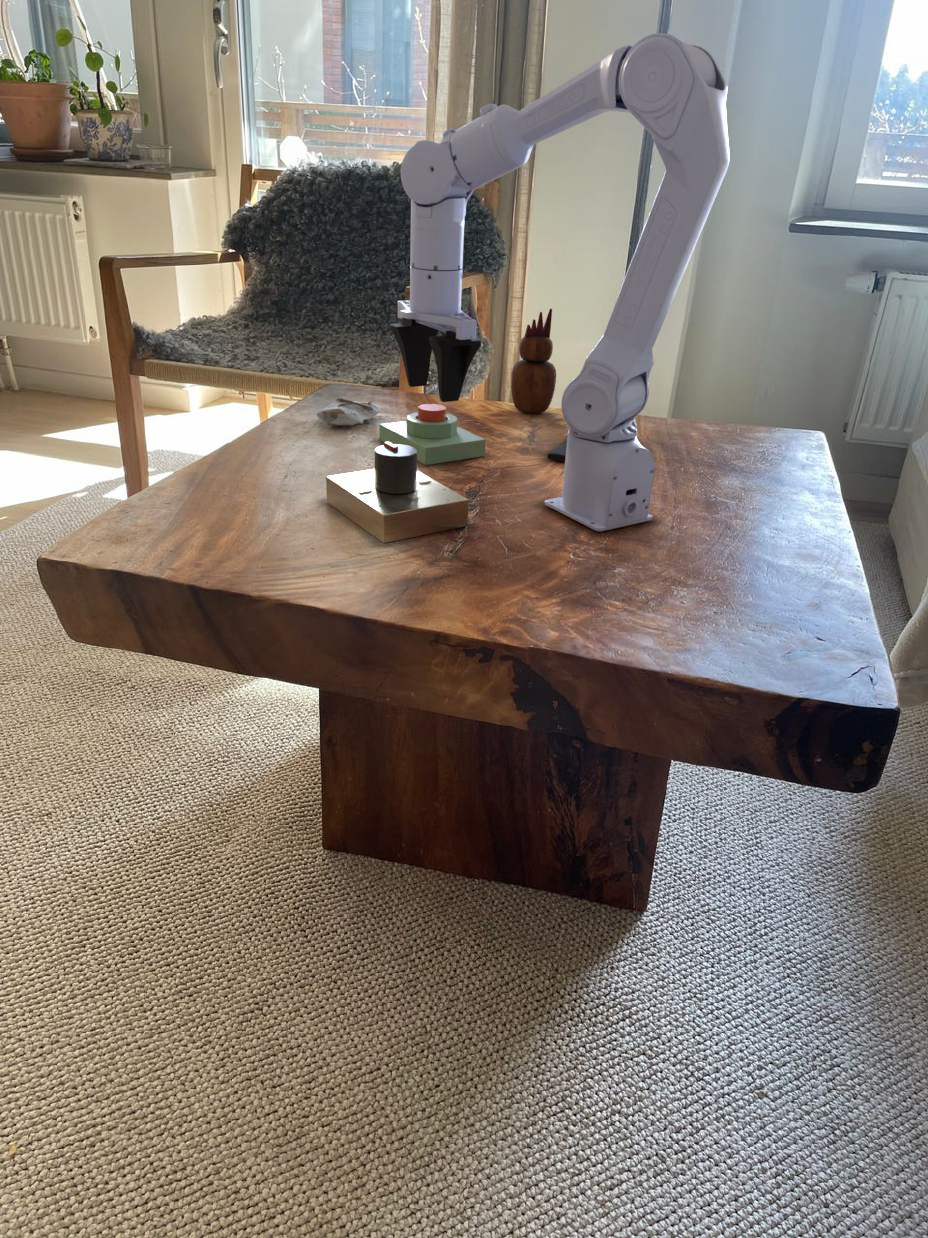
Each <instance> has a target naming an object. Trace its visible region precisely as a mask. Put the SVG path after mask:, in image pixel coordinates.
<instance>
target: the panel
mask: <svg viewBox="0 0 928 1238" xmlns="http://www.w3.org/2000/svg"><path fill="white" fill-rule="evenodd" d="M325 490H326V503H327V504H329V506H331V507H333V508H334V509H336V511H338V512H340V513H341V514H343V515H344V516H345V517H346V518H348V519H349V520H350V521H352V522H354V523H355V524H356V525H358V526H359V527H360V528H362V529H363V530H365V532H367V533H369V534H370V535H372V536H373V537H374V538H376V539H377V540H378V541H380V542H382V543H383V544H386V543H391V542H396V541H400V540H407V539H411V538H416V537H422V536H426V535H431V534H435V533H436V534H437V533H441V532H445V531H450V530H455V529H461V528H466V527H468V522H469V502H470V499H468V498H467V497H465V496H464V495H462V494H460V493H458V492H456V491H455V490H453V489H451V488H449V487H447V486H446V485H444V484H442V483H441V482H439V481H437V480H435V479H434V478H432V477H430V476H428V475H426V474H425V473H423V472H421V471H419V470H417V487H416V489H415V490H414V491H412V492H408V493H402V494H391V493H385V492H381V491H379V490H377V489H376V488H375V468H371V469H365V470H359V471H351V472H345V473H339V474H332V475H326V476H325Z"/></svg>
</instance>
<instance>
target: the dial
mask: <svg viewBox="0 0 928 1238" xmlns="http://www.w3.org/2000/svg"><path fill="white" fill-rule="evenodd" d="M374 469H375V488H376V489H377V490H379V491H381V492H385V493H391V494H402V493H408V492H412V491H414V490H415V489H416V487H417V471H418V461H417V449H416V448H414V447H411V446H408V445H402V444H392V443H390V442H383V444H382V445H379V446H376V447H375V449H374Z"/></svg>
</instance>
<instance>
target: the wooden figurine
mask: <svg viewBox="0 0 928 1238" xmlns="http://www.w3.org/2000/svg"><path fill="white" fill-rule="evenodd" d="M552 316H553V308H549V310H548V313H547V316H546V318H545V322H544V319H543V317H544V316H543V312H542V311H540V312H539V315H538V320H537V322H536V319H532V323H531V325H530V324H527V325H526V329H525V333H524V336H523V337H522V338H521V339H520V342H519V348H518V351H519V356H520V358H521V360H520V359H519V361H516V362H515V363H514V364H513V366H512V369H511V374H510V391H511V399H512V403H513V406H514V407H515V409H516V410H518V411H519V412H522V413H526V414H540V413H544V412H546V411H547V410H548V409H549V407H550V406H551V403H552V401H553V399H554V395H555V391H556V390H555V389H556V384H557V369H556V367H555V365H554V364H553V363H552V362H551V361H549V360H550V359H551V358H552V355H553V351H554V347H553V346H554V344H553V340H552V339H551V338H550V337H551V329H552V319H553V318H552Z"/></svg>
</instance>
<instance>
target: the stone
mask: <svg viewBox="0 0 928 1238" xmlns="http://www.w3.org/2000/svg"><path fill="white" fill-rule="evenodd" d="M380 413H381V409H380V407H379V405H377V404H375V403H373V402H372V400H370V401H368V402H367V401H356V400H349V399H346V398H341V397H337V398H336V399H335V400H334V401H333V402H331V403H329V404H328V405H327V406H326V407H324V408H323V407H322V408H319V409H318V410H317V411H316V416H317V418H318V419H319V420H321V421H323V422H324V423H325V425H326V426H328V427H335V426H349V427H353V426H354V425H356V424H359V425H363V424H365V422H366V423H367V422H370V420H371V419H372V418H374V417H376V416H377V415H378V414H380Z"/></svg>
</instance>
